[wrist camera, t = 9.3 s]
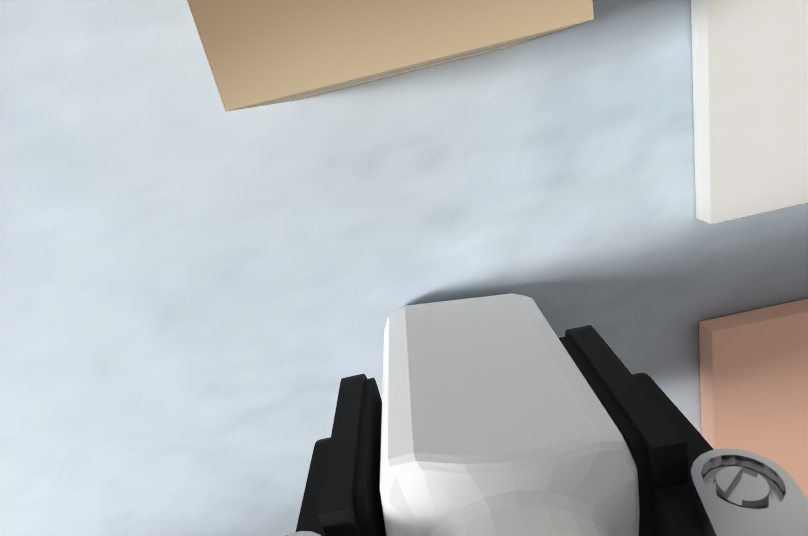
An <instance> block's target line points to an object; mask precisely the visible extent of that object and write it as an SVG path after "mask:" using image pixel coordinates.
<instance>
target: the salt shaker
mask: <svg viewBox="0 0 808 536" xmlns="http://www.w3.org/2000/svg"><path fill="white" fill-rule="evenodd" d="M380 493H381V501H382V508H383V516H384V523H385V531H386V536H639V491H638V473H637V468H636V464H635V462H634V459H633V457H632V454H631V451H630V449H629V447H628V446H627V444H626V442H625V440H624V438H623V436H622V434H621V433H620V431H619V430H618V428H617V427H616V425H615V424H614V422H613V420H612V419H611V417H610V416H609V414H608V413H607V411H606V410H605V408H604V407H603V405H602V404H601V402H600V401H599V399H598V398H597V396H596V395H595V393H594V392H593V390H592V389H591V387H590V386H589V384H588V382H587V381H586V379H585V378H584V376H583V375H582V373H581V372H580V370H579V369H578V367H577V366H576V364H575V363H574V361H573V360H572V358H571V357H570V355H569V354H568V352H567V351H566V349H565V348H564V346H563V344H562V343H561V341H560V340H559V338H558V337H557V335H556V334H555V332H554V331H553V329H552V328H551V326H550V325H549V323H548V322H547V320H546V319H545V317H544V316H543V314H542V313H541V311H540V309H539V308H538V306H537V305H536V303H535V302H534V300H533V299H532V298H530V297H527V296H524V295H518V294H513V293H511V294H502V295H493V296H484V297H476V298H467V299H458V300H450V301H441V302H432V303H424V304H415V305H407V306H403V307H401V308H399V309H396V310H394V311H392V312H391V313H390V314H389V317H388V320H387V323H386V326H385V330H384V360H383V394H382V428H381V462H380Z"/></svg>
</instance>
